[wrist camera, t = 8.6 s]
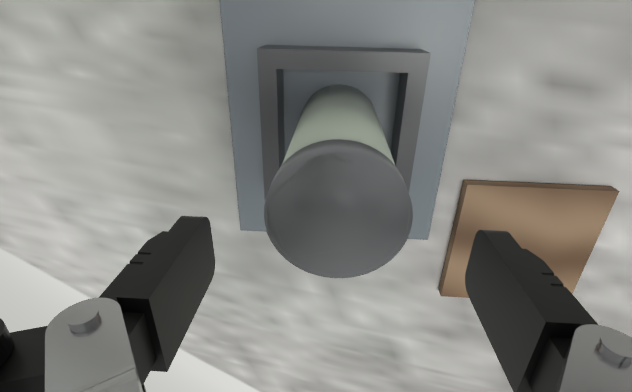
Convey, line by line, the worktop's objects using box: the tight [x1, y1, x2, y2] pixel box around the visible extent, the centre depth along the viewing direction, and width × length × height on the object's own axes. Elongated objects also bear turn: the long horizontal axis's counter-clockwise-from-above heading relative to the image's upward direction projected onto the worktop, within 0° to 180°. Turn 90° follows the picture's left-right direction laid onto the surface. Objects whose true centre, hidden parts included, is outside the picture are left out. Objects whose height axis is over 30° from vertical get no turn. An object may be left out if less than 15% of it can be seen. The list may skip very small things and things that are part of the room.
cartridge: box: [264, 84, 413, 278], centre depth 17 cm, size 5×5×12 cm
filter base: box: [220, 0, 475, 240], centre depth 19 cm, size 25×14×5 cm, turn 179°
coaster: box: [439, 180, 619, 298], centre depth 27 cm, size 10×10×1 cm
